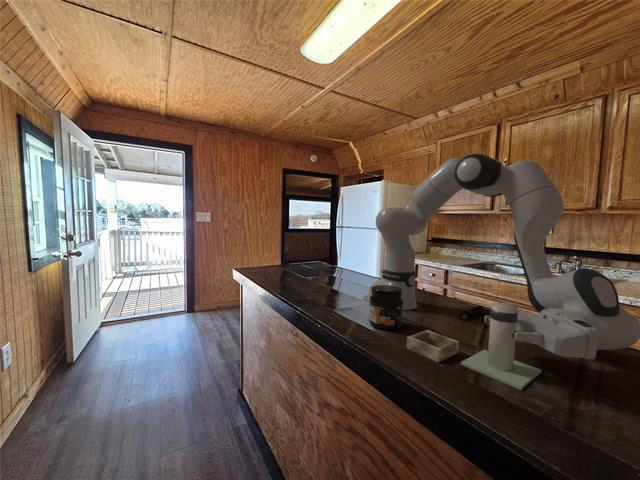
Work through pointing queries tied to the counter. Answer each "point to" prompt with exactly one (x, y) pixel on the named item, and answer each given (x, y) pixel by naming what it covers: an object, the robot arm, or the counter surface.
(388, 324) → the supplement container
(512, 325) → the white capsule post
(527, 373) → the mat
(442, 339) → the square wooden frame
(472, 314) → the electric trimmer
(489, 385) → the counter surface
